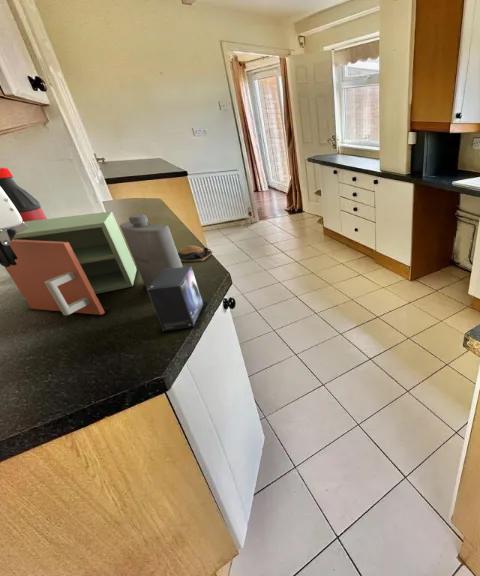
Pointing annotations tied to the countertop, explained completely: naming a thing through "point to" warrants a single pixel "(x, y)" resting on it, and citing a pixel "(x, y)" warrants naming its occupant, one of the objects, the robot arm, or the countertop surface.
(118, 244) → the cupboard
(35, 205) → the cola bottle
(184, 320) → the small box
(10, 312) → the countertop surface
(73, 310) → the door
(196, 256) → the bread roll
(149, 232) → the flask
